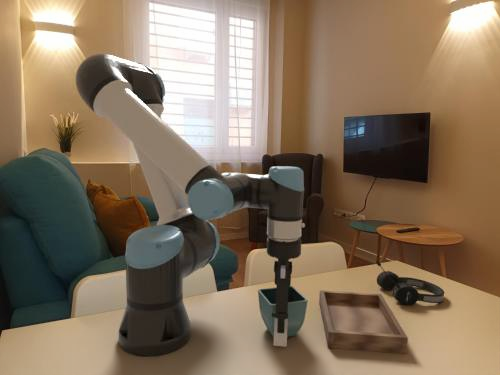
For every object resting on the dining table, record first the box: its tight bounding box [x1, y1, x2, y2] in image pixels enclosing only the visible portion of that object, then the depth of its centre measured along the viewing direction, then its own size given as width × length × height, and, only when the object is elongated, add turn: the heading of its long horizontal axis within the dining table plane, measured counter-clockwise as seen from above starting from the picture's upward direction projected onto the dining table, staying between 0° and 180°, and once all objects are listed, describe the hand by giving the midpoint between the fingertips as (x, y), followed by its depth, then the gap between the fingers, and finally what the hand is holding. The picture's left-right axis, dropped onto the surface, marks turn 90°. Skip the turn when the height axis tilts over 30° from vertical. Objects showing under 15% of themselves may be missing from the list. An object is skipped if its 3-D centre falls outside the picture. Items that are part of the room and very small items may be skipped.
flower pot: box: [257, 285, 308, 338], centre depth 84 cm, size 9×9×9 cm
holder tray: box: [318, 289, 409, 355], centre depth 88 cm, size 16×22×4 cm
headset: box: [375, 260, 445, 306], centre depth 106 cm, size 14×10×20 cm
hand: (280, 329), depth 84 cm, fingers open, 13 cm apart
